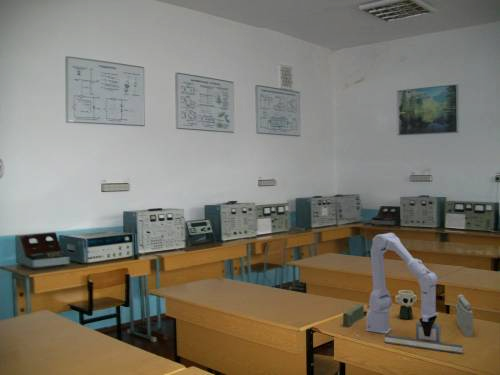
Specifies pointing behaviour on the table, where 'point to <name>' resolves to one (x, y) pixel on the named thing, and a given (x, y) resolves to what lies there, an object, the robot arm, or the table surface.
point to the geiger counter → (464, 316)
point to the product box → (434, 334)
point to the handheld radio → (353, 315)
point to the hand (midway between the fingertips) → (428, 334)
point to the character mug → (406, 303)
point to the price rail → (424, 344)
